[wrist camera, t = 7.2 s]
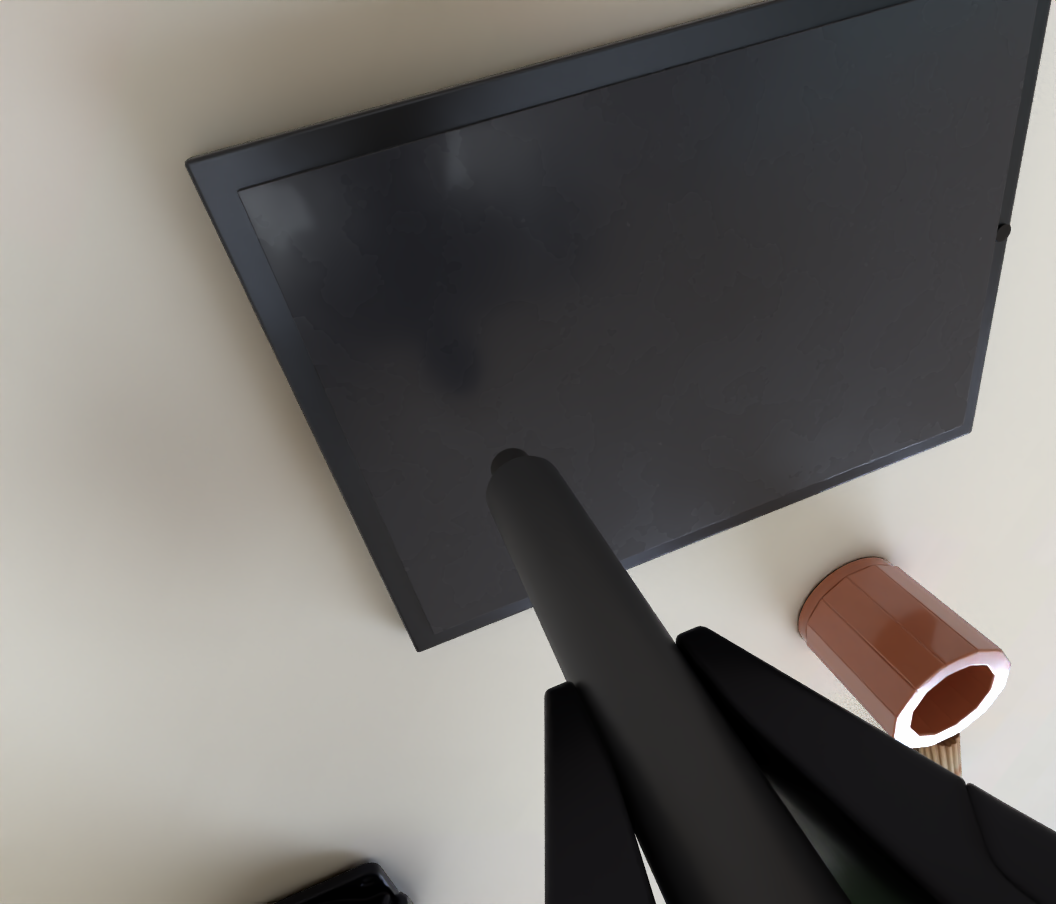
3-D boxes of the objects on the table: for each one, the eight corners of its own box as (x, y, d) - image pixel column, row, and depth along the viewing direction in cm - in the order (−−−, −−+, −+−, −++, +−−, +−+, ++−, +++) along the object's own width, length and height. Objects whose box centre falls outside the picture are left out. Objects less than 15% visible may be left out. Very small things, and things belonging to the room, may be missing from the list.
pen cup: (797, 661, 27) (888, 766, 22) (798, 583, 24) (901, 685, 20) (891, 620, 27) (996, 715, 23) (901, 540, 25) (1021, 630, 21)
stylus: (484, 507, 14) (774, 1170, 5) (464, 447, 13) (771, 1122, 5) (552, 482, 14) (937, 1080, 6) (536, 420, 14) (963, 1015, 5)
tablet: (414, 637, 20) (418, 659, 19) (187, 157, 12) (179, 161, 12) (955, 424, 23) (977, 435, 22) (1038, -74, 15) (1077, -83, 14)
